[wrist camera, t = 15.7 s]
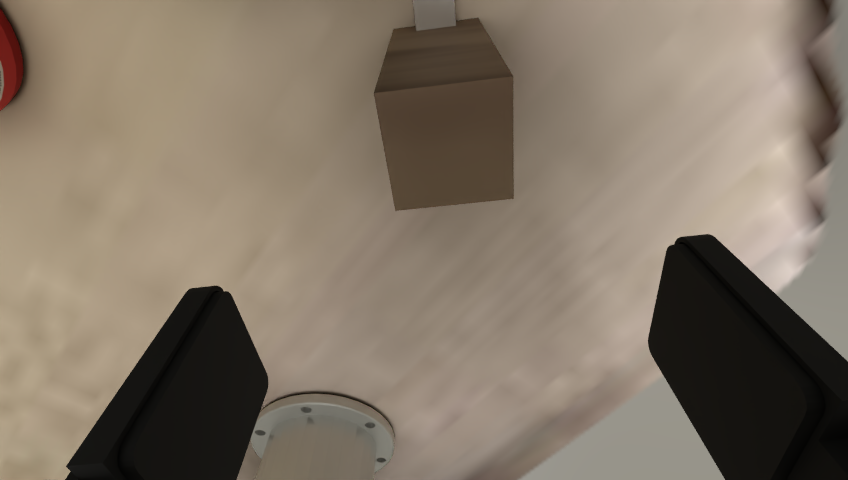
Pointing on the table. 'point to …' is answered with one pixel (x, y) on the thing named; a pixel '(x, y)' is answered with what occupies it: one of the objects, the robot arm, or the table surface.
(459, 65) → the brown wooden block
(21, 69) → the canned food
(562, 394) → the table surface
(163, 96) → the table surface
